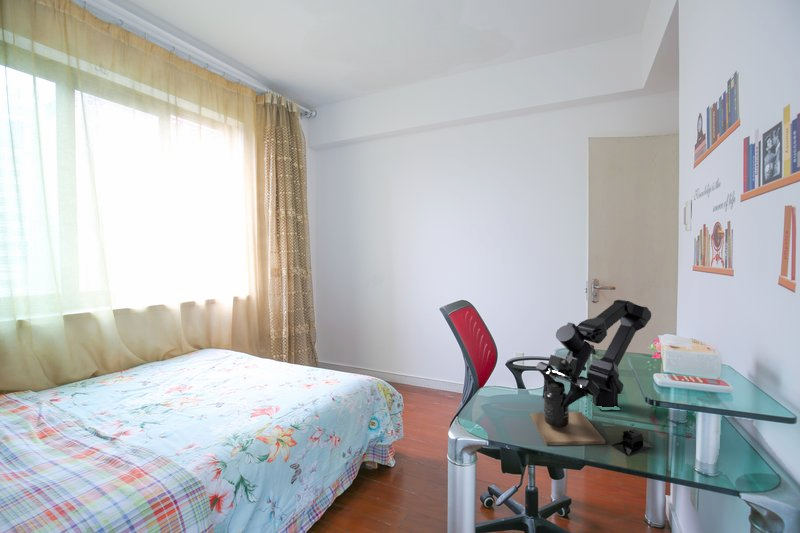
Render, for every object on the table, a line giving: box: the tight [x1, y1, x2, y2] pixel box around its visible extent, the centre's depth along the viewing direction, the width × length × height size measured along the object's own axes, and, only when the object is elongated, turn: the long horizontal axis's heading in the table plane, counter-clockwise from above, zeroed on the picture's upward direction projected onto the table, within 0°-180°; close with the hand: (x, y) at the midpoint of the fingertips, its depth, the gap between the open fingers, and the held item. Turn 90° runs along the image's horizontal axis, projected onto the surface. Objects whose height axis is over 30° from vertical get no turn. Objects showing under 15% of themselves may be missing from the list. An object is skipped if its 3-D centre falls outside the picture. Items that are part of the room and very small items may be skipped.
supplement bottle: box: [543, 380, 570, 427], centre depth 111 cm, size 7×7×12 cm
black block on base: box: [610, 428, 655, 457], centre depth 101 cm, size 12×7×5 cm, turn 108°
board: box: [530, 411, 606, 446], centre depth 112 cm, size 16×16×1 cm
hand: (553, 402), depth 111 cm, fingers closed on supplement bottle, 6 cm apart
